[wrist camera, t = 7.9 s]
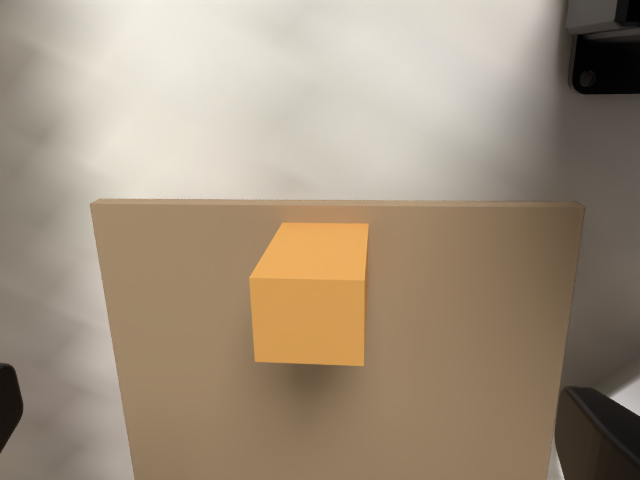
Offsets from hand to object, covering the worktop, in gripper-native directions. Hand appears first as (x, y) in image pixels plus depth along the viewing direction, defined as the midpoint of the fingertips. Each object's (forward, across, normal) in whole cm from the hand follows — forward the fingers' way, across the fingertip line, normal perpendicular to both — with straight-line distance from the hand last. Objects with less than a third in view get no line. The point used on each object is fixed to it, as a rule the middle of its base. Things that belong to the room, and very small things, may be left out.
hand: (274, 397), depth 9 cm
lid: (+7, 0, +7) cm, 10 cm away
